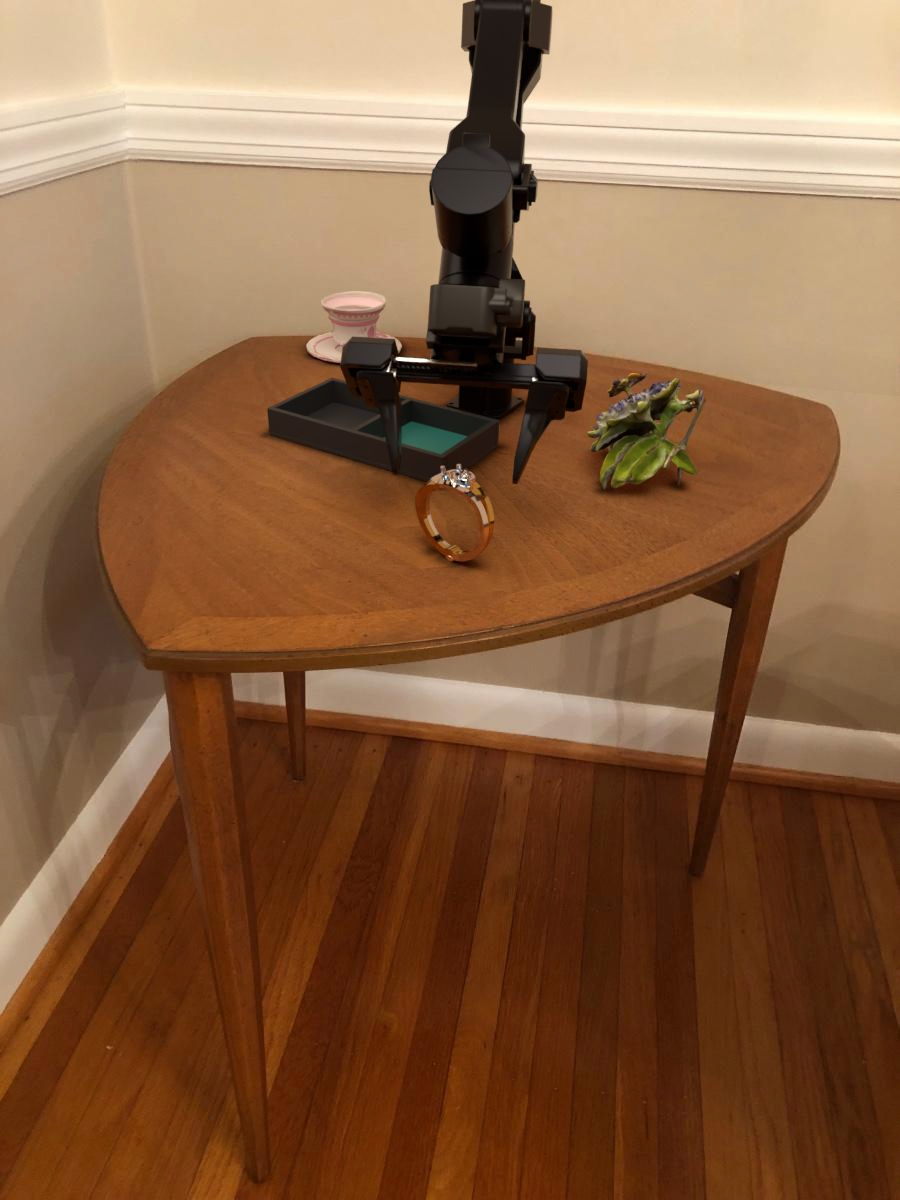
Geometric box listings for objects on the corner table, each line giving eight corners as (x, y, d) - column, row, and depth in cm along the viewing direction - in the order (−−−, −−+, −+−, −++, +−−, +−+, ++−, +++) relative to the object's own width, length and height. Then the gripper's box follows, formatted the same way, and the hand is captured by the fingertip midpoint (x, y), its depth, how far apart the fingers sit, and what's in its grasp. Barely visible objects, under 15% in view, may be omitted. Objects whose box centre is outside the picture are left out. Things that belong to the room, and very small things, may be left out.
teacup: (363, 372, 112) (361, 320, 108) (286, 352, 117) (282, 302, 114) (420, 346, 120) (421, 297, 117) (346, 328, 125) (344, 281, 122)
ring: (498, 567, 75) (503, 477, 71) (471, 582, 73) (475, 490, 69) (435, 536, 79) (436, 449, 75) (408, 550, 77) (408, 461, 73)
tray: (333, 402, 104) (332, 377, 102) (498, 446, 95) (499, 419, 93) (269, 434, 96) (266, 408, 94) (442, 486, 87) (442, 457, 86)
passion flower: (610, 506, 96) (642, 394, 96) (707, 523, 89) (743, 402, 89) (552, 475, 87) (588, 351, 88) (656, 491, 81) (695, 357, 81)
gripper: (340, 226, 68) (313, 429, 65) (600, 239, 66) (585, 447, 63) (363, 306, 79) (341, 482, 76) (587, 318, 77) (574, 499, 74)
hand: (454, 477), depth 72 cm, fingers open, 9 cm apart
